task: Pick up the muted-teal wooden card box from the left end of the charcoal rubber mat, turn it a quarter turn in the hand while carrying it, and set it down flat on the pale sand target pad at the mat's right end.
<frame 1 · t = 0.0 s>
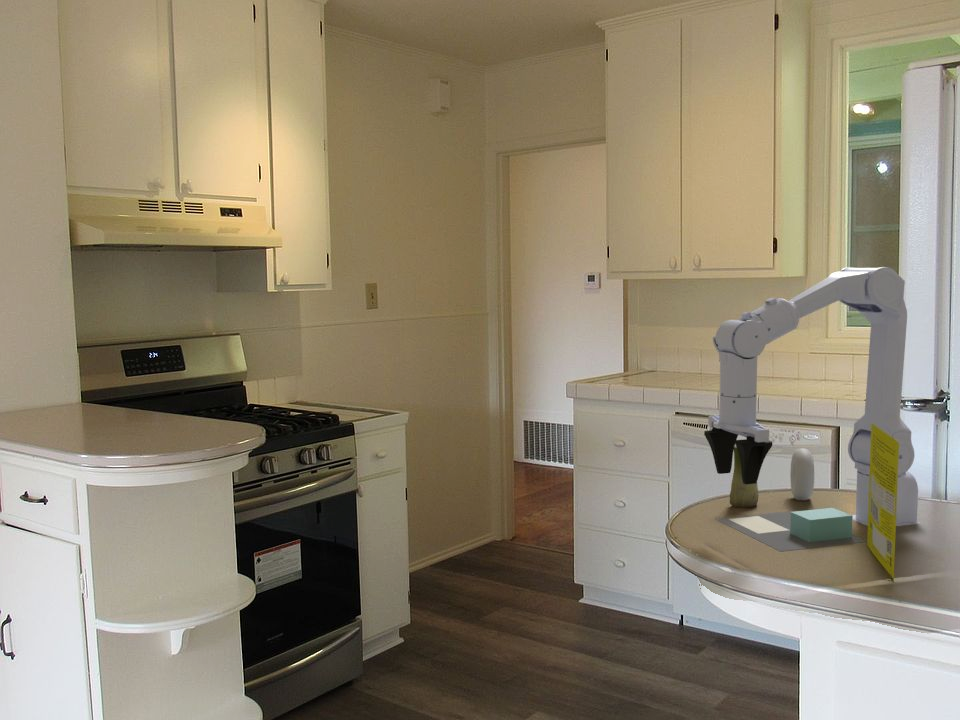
hand: (736, 478, 148), 10 cm above the worktop, tool pointing down, fingers open, 7 cm apart
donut: (801, 501, 173), on the worktop
food package: (879, 566, 136), on the worktop
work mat: (787, 533, 152), on the worktop
card box: (820, 535, 149), point 1 cm above the worktop, touching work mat
fennel bulb: (744, 509, 168), on the worktop
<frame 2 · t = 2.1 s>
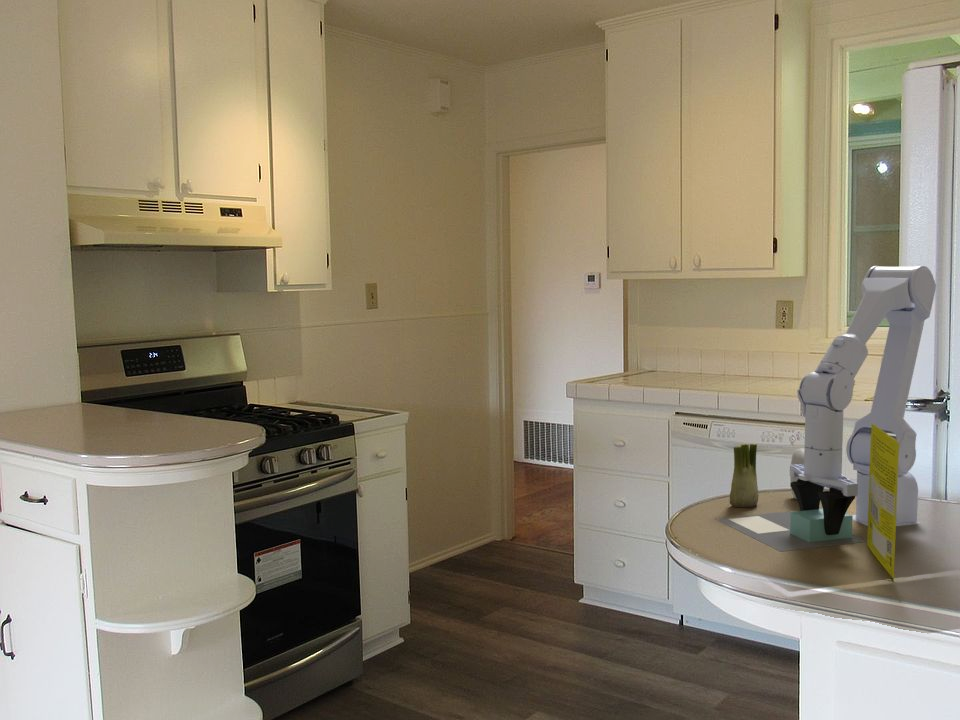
hand: (820, 529, 149), 2 cm above the worktop, tool pointing down, fingers closed on card box, 5 cm apart
card box: (820, 535, 149), point 1 cm above the worktop, touching gripper, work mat
everything else where it was.
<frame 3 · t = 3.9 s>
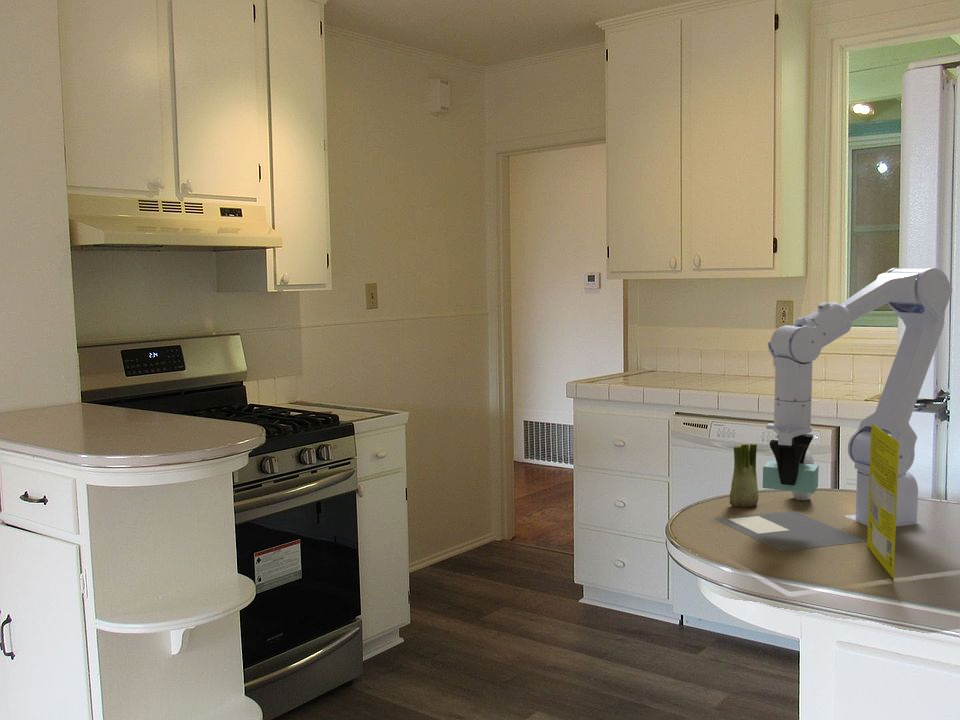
hand: (790, 480, 151), 9 cm above the worktop, tool pointing down, fingers closed on card box, 5 cm apart
card box: (790, 487, 151), point 8 cm above the worktop, touching gripper
everything else where it was.
when the fingers open (3 cm above the worktop, at t = 6.0 s): card box drops 1 cm, resting on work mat.
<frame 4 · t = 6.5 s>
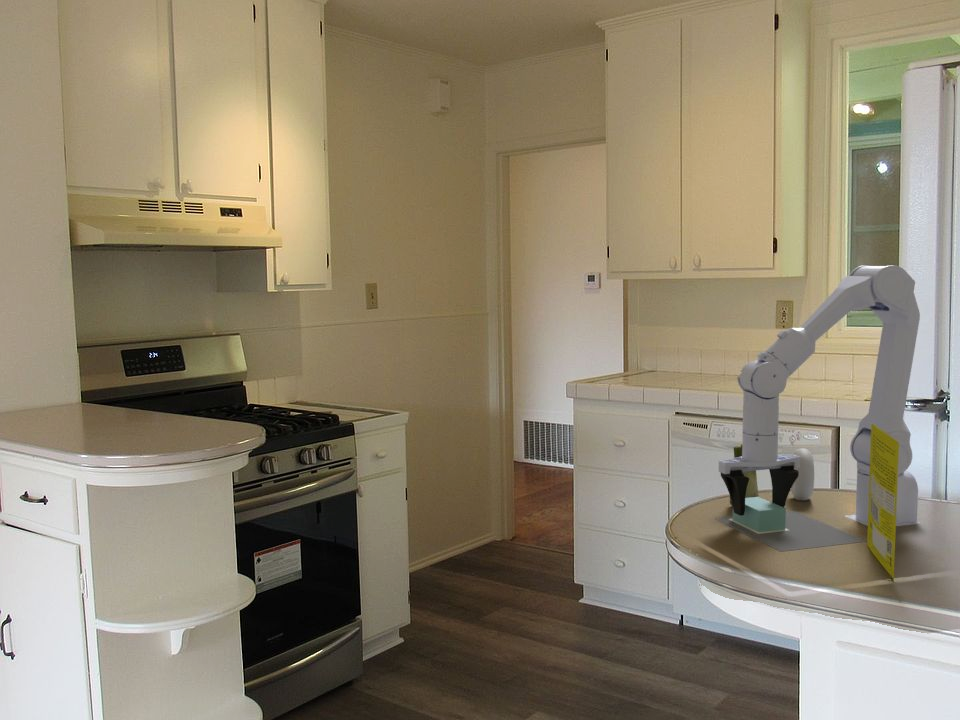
hand: (758, 512, 155), 3 cm above the worktop, tool pointing down, fingers open, 7 cm apart
card box: (758, 524, 155), point 1 cm above the worktop, touching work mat
everything else where it was.
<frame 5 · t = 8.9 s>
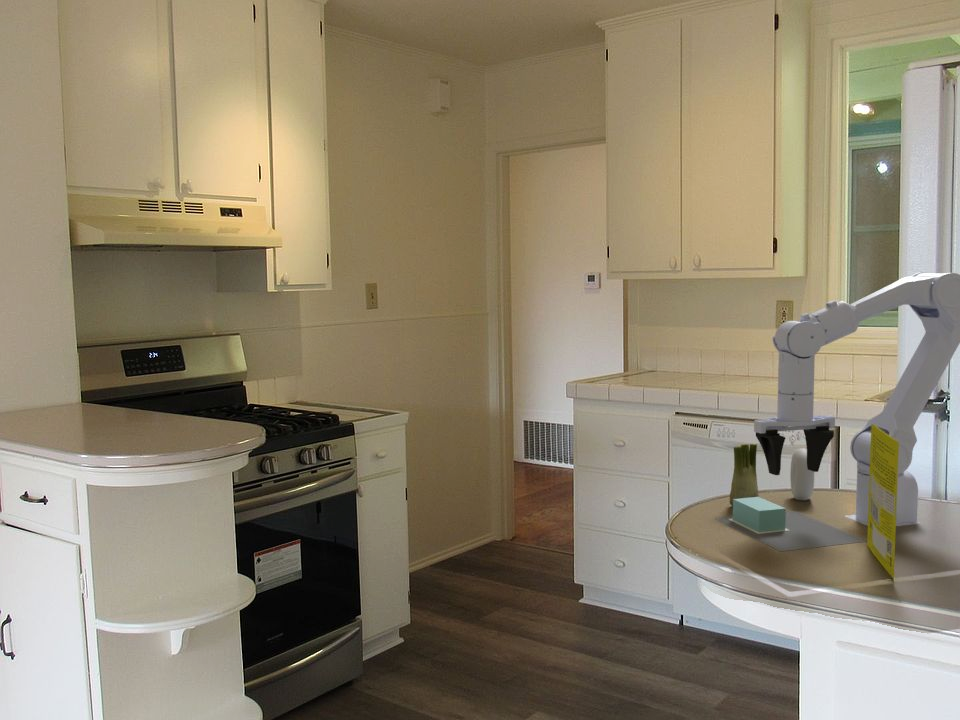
hand: (793, 472, 155), 9 cm above the worktop, tool pointing down, fingers open, 7 cm apart
nothing on the worktop moved.
at the end: card box 0.0 cm from the target spot on the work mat, point 0.6 cm above the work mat's base; card box tilted 0°; the gripper is holding nothing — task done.
